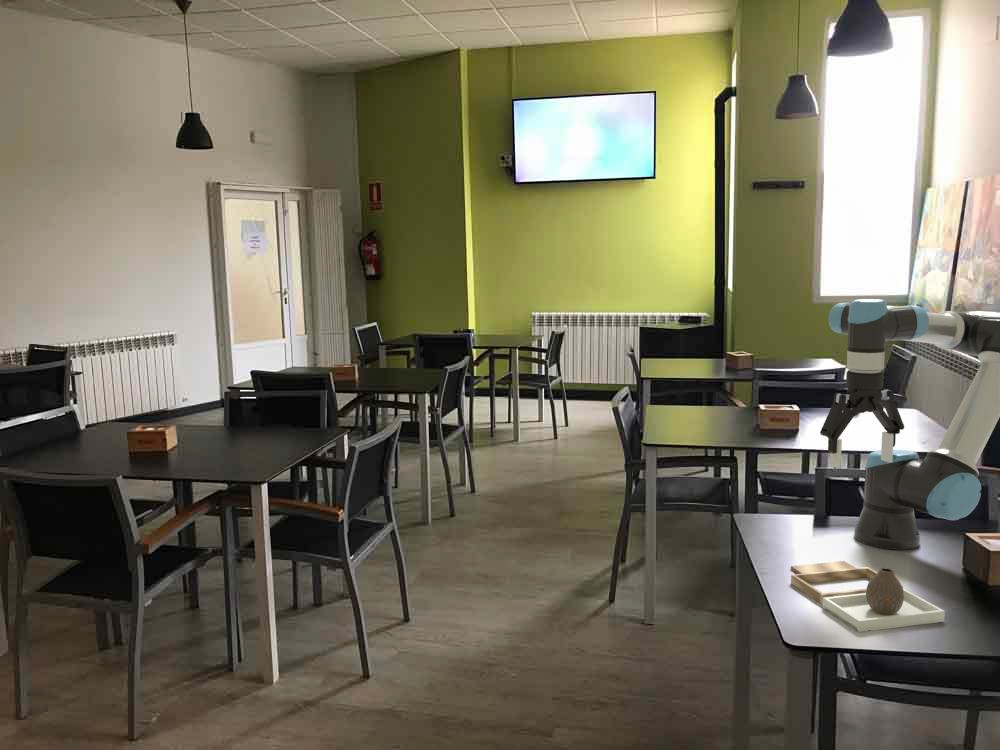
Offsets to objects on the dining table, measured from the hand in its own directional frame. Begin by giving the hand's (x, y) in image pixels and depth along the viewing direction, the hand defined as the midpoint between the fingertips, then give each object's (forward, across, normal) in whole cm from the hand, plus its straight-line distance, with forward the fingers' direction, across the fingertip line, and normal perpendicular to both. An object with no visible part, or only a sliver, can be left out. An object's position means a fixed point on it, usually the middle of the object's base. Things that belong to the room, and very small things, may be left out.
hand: (861, 464), depth 186 cm
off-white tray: (+25, +10, +20) cm, 34 cm away
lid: (+25, +6, -3) cm, 26 cm away
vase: (+25, +10, +20) cm, 33 cm away
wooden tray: (+25, +9, +7) cm, 28 cm away
